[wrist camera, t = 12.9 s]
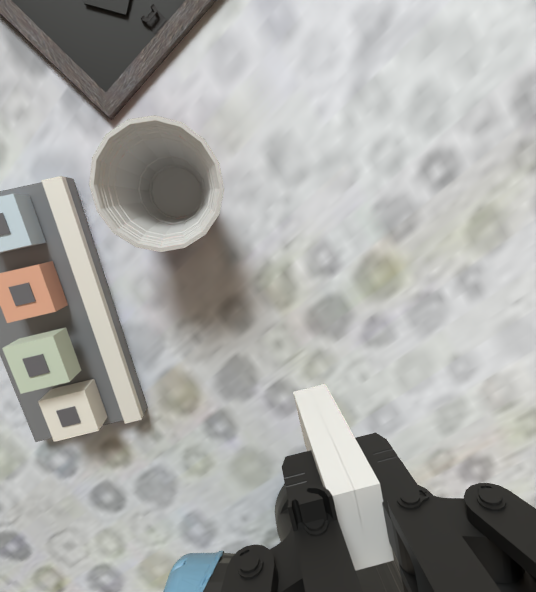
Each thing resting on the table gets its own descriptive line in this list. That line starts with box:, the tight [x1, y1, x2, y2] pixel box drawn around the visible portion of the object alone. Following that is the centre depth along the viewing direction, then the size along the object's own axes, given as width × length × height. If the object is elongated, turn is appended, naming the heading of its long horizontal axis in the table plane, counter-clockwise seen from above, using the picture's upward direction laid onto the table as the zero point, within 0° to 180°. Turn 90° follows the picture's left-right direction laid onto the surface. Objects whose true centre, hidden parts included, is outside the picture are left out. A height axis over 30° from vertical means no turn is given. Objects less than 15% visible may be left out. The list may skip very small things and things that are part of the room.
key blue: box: [0, 194, 46, 253], centre depth 38 cm, size 5×5×3 cm
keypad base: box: [0, 176, 147, 442], centre depth 43 cm, size 28×13×3 cm, turn 13°
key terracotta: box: [0, 261, 68, 323], centre depth 40 cm, size 5×5×3 cm
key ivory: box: [38, 379, 107, 442], centre depth 43 cm, size 5×5×3 cm
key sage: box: [2, 328, 81, 394], centre depth 39 cm, size 5×5×3 cm
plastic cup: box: [89, 115, 224, 252], centre depth 37 cm, size 11×11×12 cm
